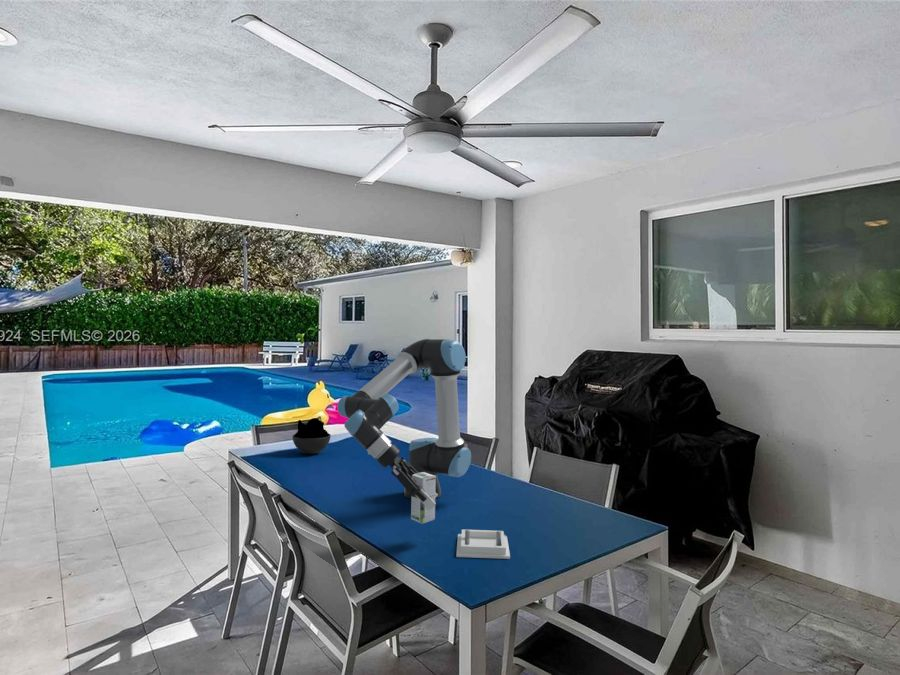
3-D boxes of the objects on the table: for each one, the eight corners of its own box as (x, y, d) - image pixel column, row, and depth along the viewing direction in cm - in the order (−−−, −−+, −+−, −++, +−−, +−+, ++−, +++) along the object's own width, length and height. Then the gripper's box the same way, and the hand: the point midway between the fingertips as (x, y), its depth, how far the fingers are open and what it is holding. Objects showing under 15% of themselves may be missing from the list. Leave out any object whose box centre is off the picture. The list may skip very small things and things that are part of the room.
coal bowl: (332, 449, 298) (333, 416, 298) (326, 458, 278) (327, 422, 278) (296, 449, 297) (297, 415, 296) (288, 457, 277) (288, 422, 276)
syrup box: (410, 519, 170) (410, 474, 169) (424, 514, 174) (424, 471, 173) (422, 524, 166) (422, 478, 165) (435, 519, 170) (436, 474, 169)
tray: (458, 536, 174) (458, 521, 174) (506, 538, 174) (507, 523, 174) (456, 556, 158) (456, 540, 158) (510, 559, 158) (510, 542, 158)
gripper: (381, 451, 180) (428, 499, 180) (369, 467, 160) (422, 522, 159) (397, 436, 180) (444, 484, 180) (387, 450, 159) (440, 505, 159)
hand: (433, 502), depth 169 cm, fingers closed on syrup box, 8 cm apart
